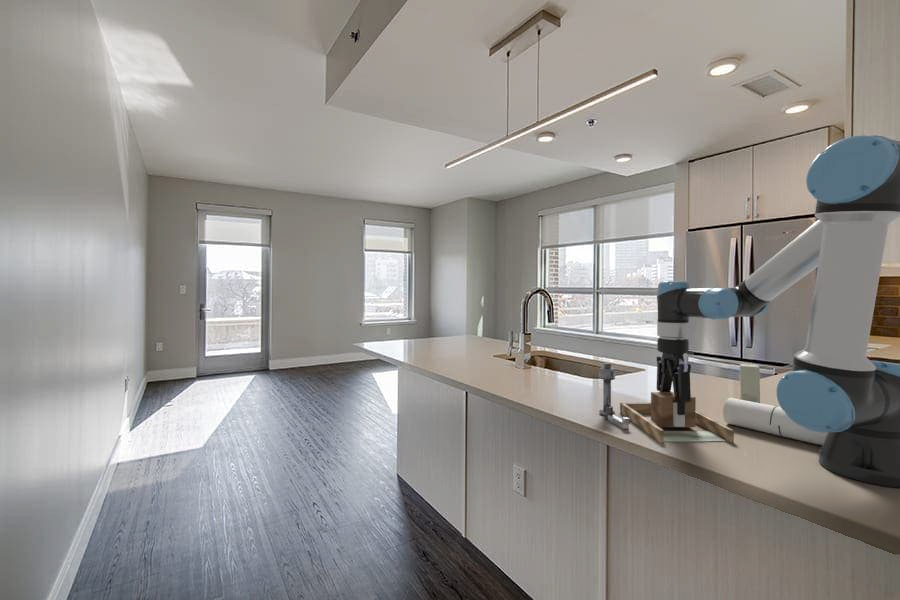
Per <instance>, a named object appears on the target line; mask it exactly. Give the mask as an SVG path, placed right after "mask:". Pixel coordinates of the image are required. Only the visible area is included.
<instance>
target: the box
mask: <svg viewBox="0 0 900 600" xmlns="http://www.w3.org/2000/svg"><path fill="white" fill-rule="evenodd" d="M760 372H761V371H760V365H758V364H748V363H747V364H746V363H740V364H739V387H740V388H739V389H740V390H739V393H740V394H739V396H740V400H745V401H750V402H756V403H761V384H760V383H761V381H760V380H761V379H760V378H761V377H760Z"/></svg>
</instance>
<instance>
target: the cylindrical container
mask: <svg viewBox="0 0 900 600" xmlns="http://www.w3.org/2000/svg"><path fill="white" fill-rule="evenodd" d="M722 414H723V419H724V422H725V423H726V424H728V425H732V426H735V427H741V428H745V429H750V430H753V431H758V432H761V433H767V434H771V435H774V436H778V437H783V438H787V439H792V440H797V441H800V442H804V443H805V442H806V443H809V444H814V445H818V446H821V447H823V444H824V442H825V439H826V436H827V434H828V432H816V431H811V430H808V429H806V428H803V427H801V426H800V425H798V424H796V423H795V422H794V421H792V420H791V419H790V418H789V417H788V415H787V414H786V413H785V411H783V410H782V408H781V406H777V405H772V404H771V405H770V404H765V403H761V402H760V403H756V402H750V401H745V400H740V399H739V398H733V397H728V398H727V399H726V400H725V403H724V405H723V411H722Z"/></svg>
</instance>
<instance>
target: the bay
mask: <svg viewBox="0 0 900 600" xmlns="http://www.w3.org/2000/svg"><path fill="white" fill-rule="evenodd" d="M619 405H620V406H619V412H620V414H621V415H623V417H628V418H630V422H632V423H633V424H635V425H636V426H637V427H639V428H640V429H641V430H642V431H644V432H645V433H646V434H648V435H649V436H650V437H652V438H654V439H655V440H656V441H657V442H658V443H660V444H661V443H666V442H667V443H668V442H669V443H675V442H677V443H679V442H680V443H683V442H684V443H685V442H686V443H687V442H688V443H691V442H692V443H694V442H695V443H698V442H703V443H704V442H706V443H707V442H710V443H714V442H716V443H717V442H718V443H719V442H721V443H722V442H724V443H725V442H727V443H735V441H734V439H735V430H734V429H732V428H730V427H728V426H727V425H725V424H723V423H721V422H718V421H717V420H715V419H713V418H711V417H709V416H707V415H705V414H703V413H701V412H699V411H698V410H695V425H698V426H700V427H702V428H704V429H706V430H687V431H685V430H681V431H680V430H677V431H676V430H675V431H674V430H672V431H670V430H667V431H665V430H664V429H663V428H662V427H660V426H658V425H657V424H655V423H654V422H652V421H651V420H649V419H648V418H647V417H645V416H643V415H642V414H646V415H648V414H650V415H651V402H619Z"/></svg>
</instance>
